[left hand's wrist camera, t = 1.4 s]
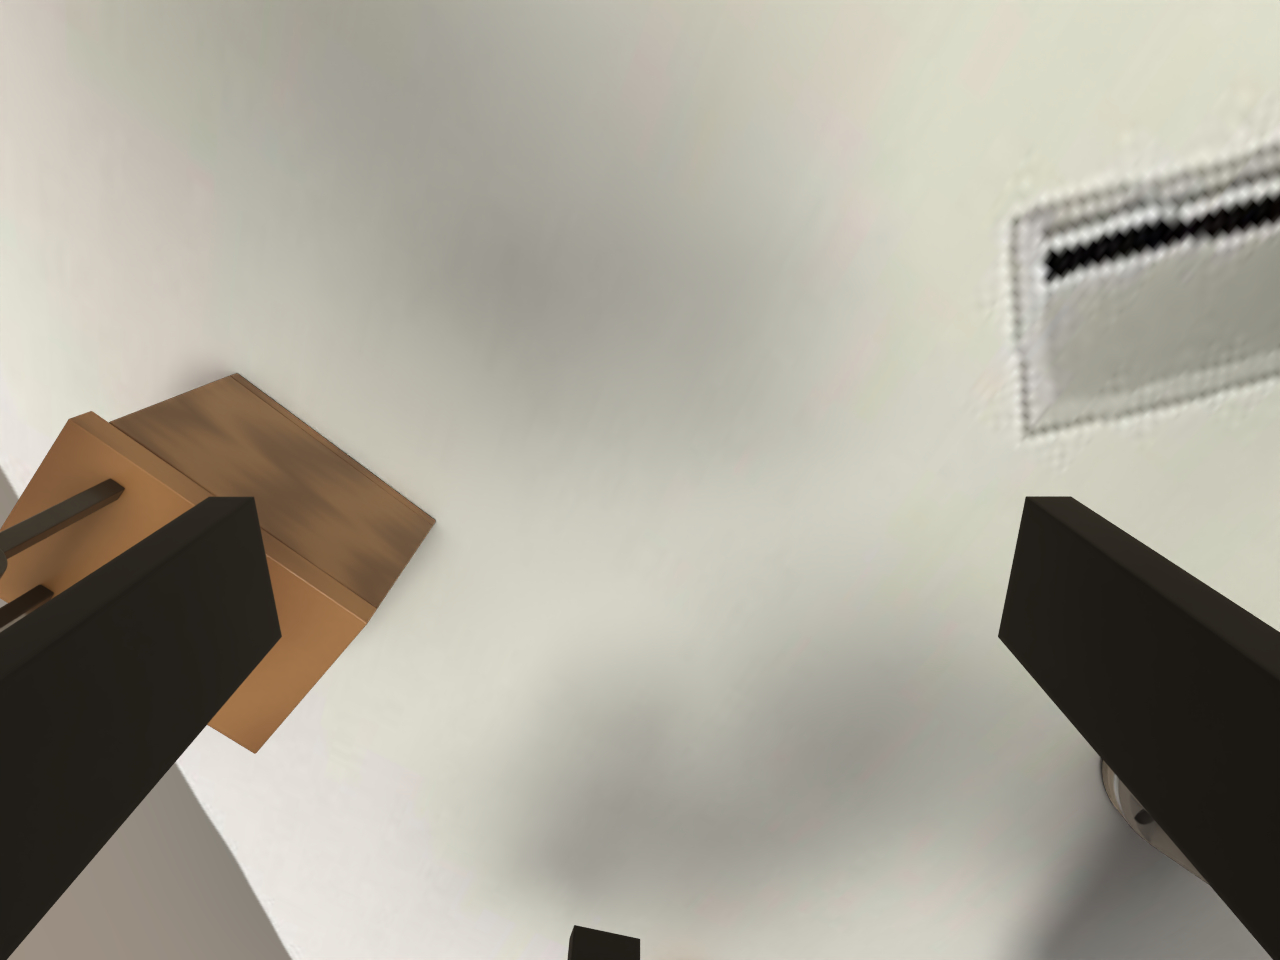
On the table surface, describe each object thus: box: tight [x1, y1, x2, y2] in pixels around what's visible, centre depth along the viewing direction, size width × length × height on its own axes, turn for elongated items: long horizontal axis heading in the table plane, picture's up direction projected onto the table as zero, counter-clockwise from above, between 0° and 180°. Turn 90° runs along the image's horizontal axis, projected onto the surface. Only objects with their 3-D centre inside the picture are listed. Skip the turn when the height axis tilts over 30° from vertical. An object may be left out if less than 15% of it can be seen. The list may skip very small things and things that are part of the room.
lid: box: [0, 411, 377, 754], centre depth 27 cm, size 14×9×9 cm
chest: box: [109, 373, 436, 609], centre depth 37 cm, size 13×9×10 cm
